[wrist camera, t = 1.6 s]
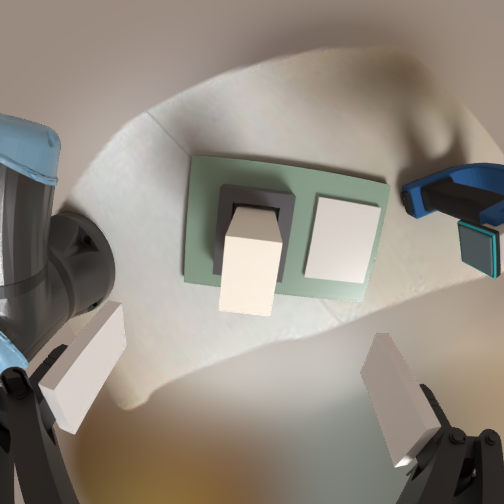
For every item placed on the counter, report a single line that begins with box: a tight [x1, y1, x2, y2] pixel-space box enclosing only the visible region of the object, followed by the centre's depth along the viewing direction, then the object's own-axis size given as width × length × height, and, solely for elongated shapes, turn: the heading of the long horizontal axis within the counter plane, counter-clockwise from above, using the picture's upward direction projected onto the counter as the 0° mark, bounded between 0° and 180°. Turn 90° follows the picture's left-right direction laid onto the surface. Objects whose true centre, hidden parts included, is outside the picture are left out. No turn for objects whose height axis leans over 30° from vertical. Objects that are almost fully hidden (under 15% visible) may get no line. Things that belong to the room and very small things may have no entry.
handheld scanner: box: [402, 163, 504, 279], centre depth 24 cm, size 5×16×20 cm, turn 113°
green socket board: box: [184, 155, 391, 302], centre depth 34 cm, size 24×16×4 cm, turn 83°
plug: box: [219, 203, 283, 316], centre depth 28 cm, size 4×6×14 cm, turn 173°
